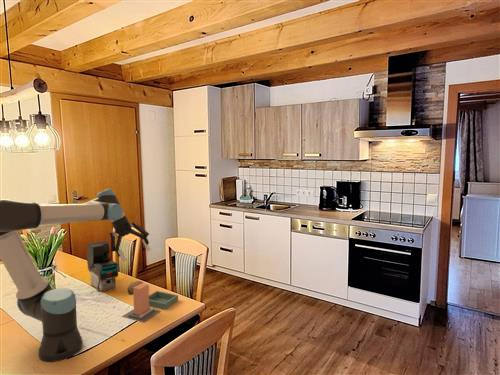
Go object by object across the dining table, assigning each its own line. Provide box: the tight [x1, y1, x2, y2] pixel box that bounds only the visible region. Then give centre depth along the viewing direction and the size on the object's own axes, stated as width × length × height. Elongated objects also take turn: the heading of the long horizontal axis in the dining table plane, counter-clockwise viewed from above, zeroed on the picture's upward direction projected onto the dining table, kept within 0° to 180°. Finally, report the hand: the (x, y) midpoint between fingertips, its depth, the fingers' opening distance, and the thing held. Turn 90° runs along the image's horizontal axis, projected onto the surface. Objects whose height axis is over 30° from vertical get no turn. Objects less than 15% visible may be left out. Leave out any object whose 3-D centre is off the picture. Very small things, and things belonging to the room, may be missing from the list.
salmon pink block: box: [132, 282, 150, 316], centre depth 154 cm, size 6×4×14 cm, turn 157°
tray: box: [149, 290, 179, 311], centre depth 167 cm, size 11×14×4 cm
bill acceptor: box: [86, 240, 119, 292], centre depth 188 cm, size 10×23×25 cm, turn 44°
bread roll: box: [127, 280, 144, 296], centre depth 182 cm, size 10×10×8 cm
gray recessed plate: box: [120, 307, 162, 324], centre depth 155 cm, size 12×14×3 cm
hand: (137, 255), depth 162 cm, fingers open, 13 cm apart
